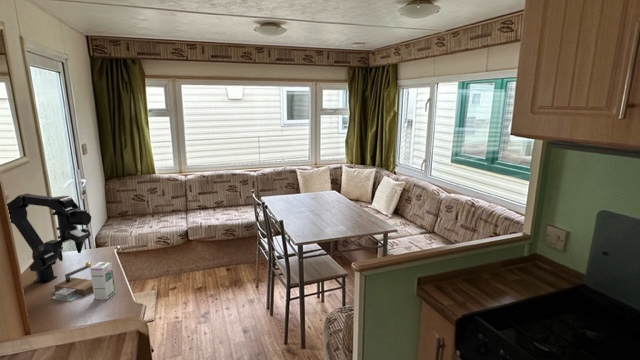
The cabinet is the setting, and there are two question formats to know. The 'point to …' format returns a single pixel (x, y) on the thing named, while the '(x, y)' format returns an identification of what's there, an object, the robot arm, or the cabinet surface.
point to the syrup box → (102, 280)
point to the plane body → (76, 286)
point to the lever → (67, 276)
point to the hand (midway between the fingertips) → (70, 256)
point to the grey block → (65, 293)
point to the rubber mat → (69, 299)
